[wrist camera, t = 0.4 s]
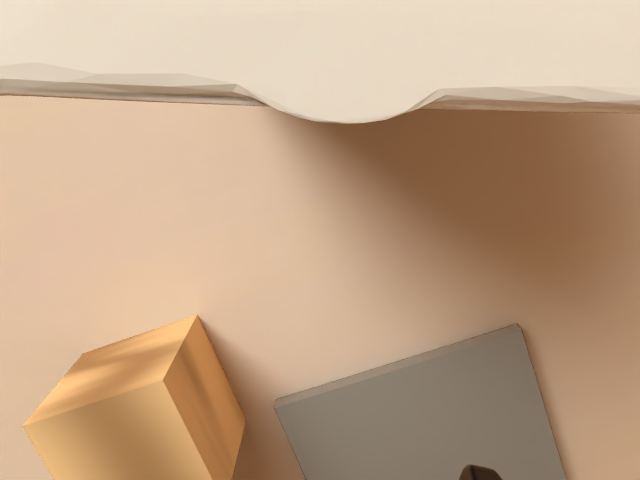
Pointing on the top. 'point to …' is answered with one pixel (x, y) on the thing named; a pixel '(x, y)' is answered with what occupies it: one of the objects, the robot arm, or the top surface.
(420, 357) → the slate coaster
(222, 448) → the oak cube
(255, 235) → the top surface
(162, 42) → the skincare box
